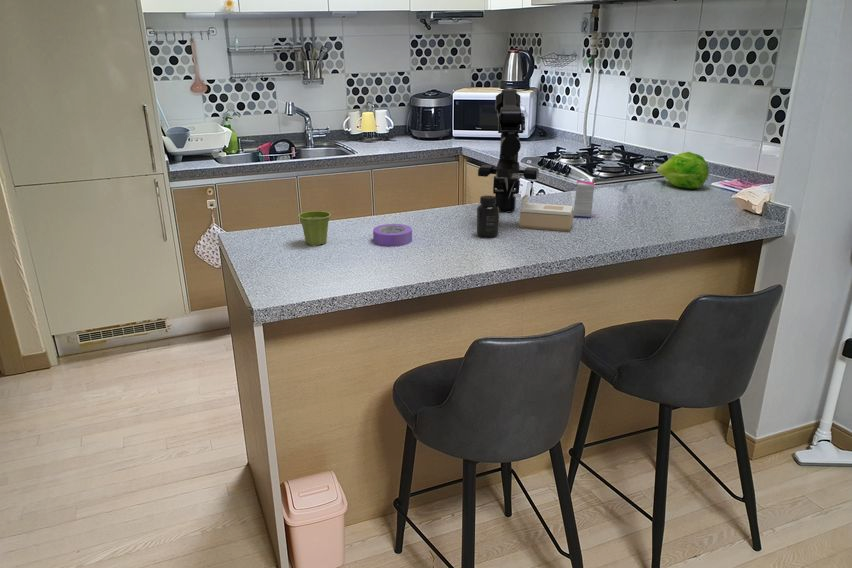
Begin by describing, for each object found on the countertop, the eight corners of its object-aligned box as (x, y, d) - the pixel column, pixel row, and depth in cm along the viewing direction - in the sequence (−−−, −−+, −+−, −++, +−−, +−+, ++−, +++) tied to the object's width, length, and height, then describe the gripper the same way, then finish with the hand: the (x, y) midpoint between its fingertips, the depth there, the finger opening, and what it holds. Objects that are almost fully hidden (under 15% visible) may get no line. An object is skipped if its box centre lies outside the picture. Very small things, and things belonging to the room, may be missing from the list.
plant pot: (303, 238, 204) (301, 210, 200) (334, 238, 203) (333, 210, 200) (297, 247, 195) (295, 218, 192) (329, 247, 195) (327, 218, 191)
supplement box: (591, 218, 224) (594, 184, 220) (573, 217, 225) (576, 184, 221) (591, 214, 230) (593, 181, 226) (573, 213, 231) (576, 180, 227)
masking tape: (399, 249, 194) (398, 236, 192) (365, 243, 199) (365, 231, 198) (419, 239, 203) (419, 226, 202) (386, 233, 209) (386, 221, 207)
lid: (520, 211, 212) (521, 199, 210) (524, 205, 219) (525, 193, 218) (570, 215, 207) (571, 202, 206) (573, 209, 215) (574, 196, 213)
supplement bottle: (500, 233, 208) (502, 195, 204) (495, 239, 202) (496, 200, 198) (479, 231, 210) (480, 193, 206) (473, 237, 204) (474, 198, 200)
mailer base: (519, 227, 214) (519, 212, 212) (523, 221, 221) (524, 206, 219) (569, 231, 209) (571, 216, 208) (572, 225, 216) (573, 210, 215)
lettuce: (644, 189, 275) (669, 190, 283) (690, 187, 256) (716, 188, 263) (645, 153, 274) (670, 155, 281) (692, 148, 254) (717, 150, 262)
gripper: (474, 152, 206) (473, 202, 211) (534, 155, 201) (532, 206, 206) (482, 147, 216) (481, 194, 221) (540, 149, 211) (537, 198, 216)
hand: (507, 198), depth 216 cm, fingers closed
